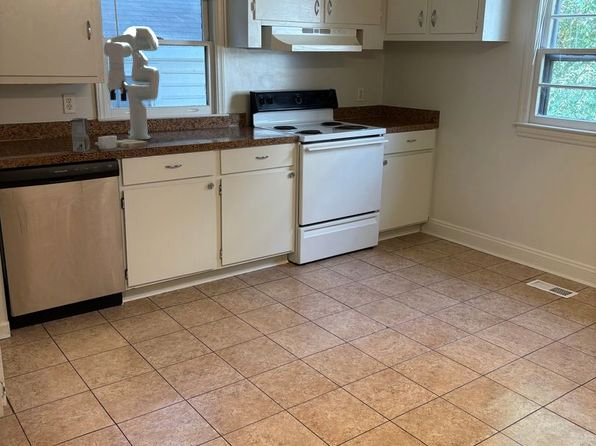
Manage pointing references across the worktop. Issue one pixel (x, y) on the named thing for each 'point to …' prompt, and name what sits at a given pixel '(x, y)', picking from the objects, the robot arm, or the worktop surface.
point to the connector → (107, 142)
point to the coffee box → (80, 135)
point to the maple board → (131, 143)
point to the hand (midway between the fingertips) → (118, 100)
